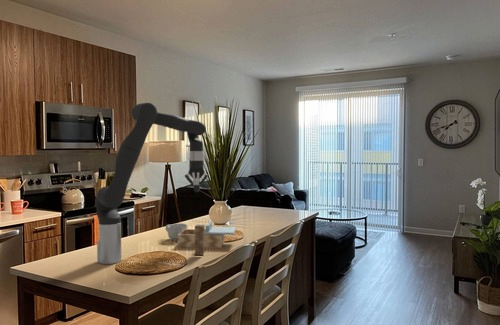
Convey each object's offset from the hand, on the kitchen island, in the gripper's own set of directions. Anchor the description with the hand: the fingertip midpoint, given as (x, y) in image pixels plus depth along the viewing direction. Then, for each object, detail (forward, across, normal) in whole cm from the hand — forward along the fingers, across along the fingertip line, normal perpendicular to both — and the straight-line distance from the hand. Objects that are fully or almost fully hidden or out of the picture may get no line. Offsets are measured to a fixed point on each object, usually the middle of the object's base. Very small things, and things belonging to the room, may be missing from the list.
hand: (196, 192), depth 200 cm
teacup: (+27, +13, -6) cm, 31 cm away
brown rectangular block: (+27, -6, +24) cm, 37 cm away
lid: (+20, -13, +7) cm, 25 cm away
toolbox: (+27, -4, +7) cm, 28 cm away
